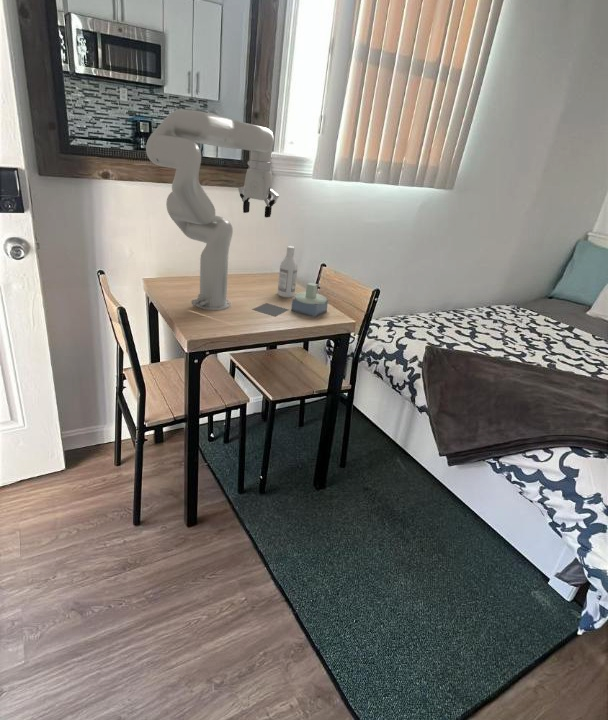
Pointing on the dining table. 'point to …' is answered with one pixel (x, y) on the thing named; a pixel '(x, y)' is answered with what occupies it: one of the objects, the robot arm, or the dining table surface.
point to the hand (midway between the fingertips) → (256, 214)
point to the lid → (310, 295)
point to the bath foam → (288, 274)
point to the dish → (309, 308)
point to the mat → (270, 309)
